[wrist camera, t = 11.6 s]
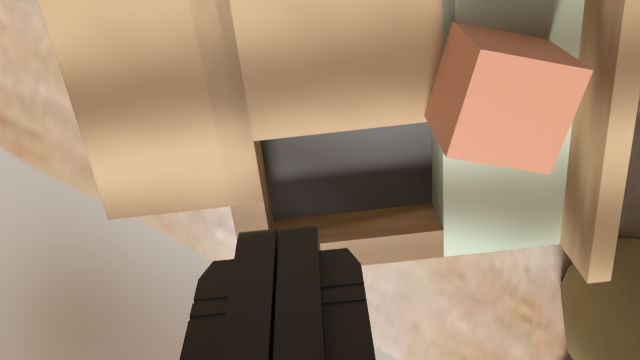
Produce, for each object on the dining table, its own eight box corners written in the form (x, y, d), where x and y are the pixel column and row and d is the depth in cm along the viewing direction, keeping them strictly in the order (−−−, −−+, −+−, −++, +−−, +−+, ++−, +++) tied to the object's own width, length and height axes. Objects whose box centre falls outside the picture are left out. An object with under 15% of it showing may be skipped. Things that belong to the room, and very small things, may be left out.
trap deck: (13, -195, 22) (-77, -214, 17) (601, -265, 22) (702, -307, 16) (144, 254, 31) (113, 334, 26) (556, 209, 31) (610, 281, 26)
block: (452, 21, 23) (480, 49, 20) (548, 39, 24) (593, 70, 20) (424, 116, 25) (445, 157, 21) (514, 131, 25) (550, 174, 22)
